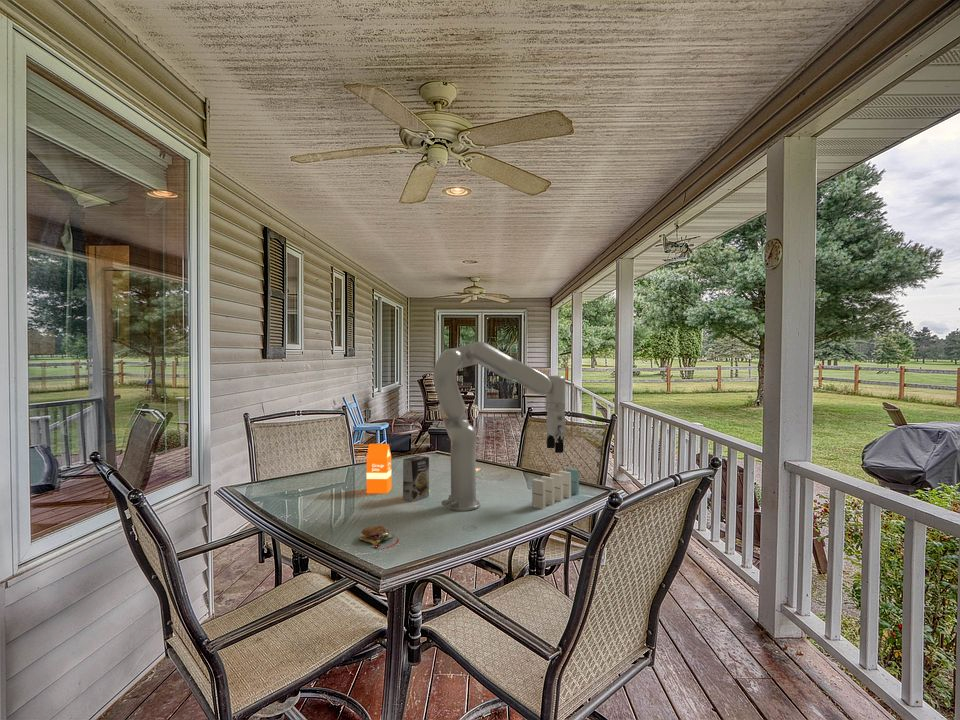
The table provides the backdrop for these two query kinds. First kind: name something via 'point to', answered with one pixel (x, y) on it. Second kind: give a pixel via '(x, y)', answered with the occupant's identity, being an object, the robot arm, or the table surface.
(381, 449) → the orange juice
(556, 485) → the domino
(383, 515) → the table surface
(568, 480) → the domino
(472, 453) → the robot arm
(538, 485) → the domino
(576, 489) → the domino
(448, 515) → the table surface
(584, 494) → the table surface
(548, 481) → the domino
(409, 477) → the coffee box
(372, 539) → the hamburger
